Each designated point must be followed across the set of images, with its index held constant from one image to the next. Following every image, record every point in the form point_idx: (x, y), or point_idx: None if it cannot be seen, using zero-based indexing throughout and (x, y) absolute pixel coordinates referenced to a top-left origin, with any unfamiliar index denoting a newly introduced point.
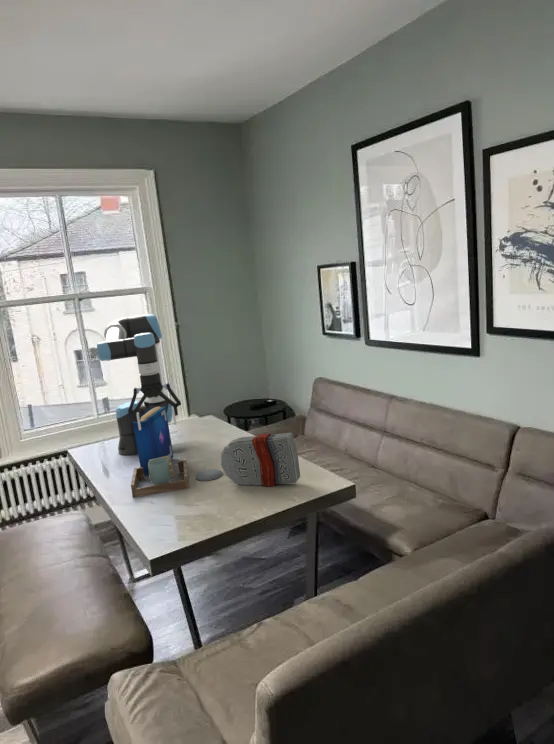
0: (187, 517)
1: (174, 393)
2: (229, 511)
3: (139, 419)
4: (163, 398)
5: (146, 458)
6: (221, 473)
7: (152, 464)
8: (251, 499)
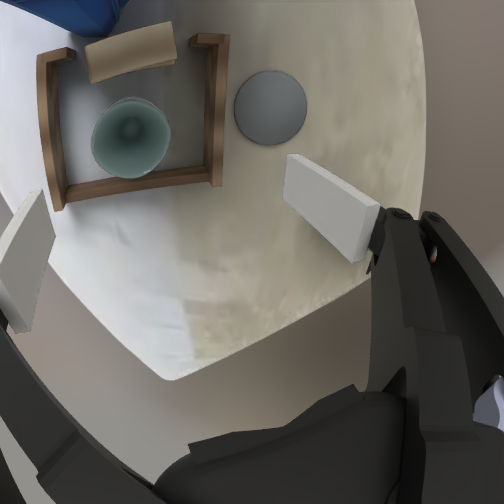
0: (205, 309)
1: (491, 286)
2: (272, 298)
3: (29, 256)
4: (370, 364)
5: (78, 29)
6: (303, 120)
7: (106, 126)
8: (313, 265)
